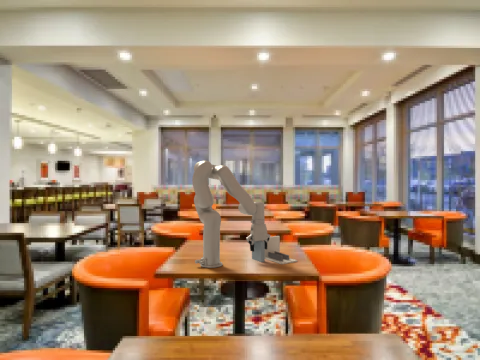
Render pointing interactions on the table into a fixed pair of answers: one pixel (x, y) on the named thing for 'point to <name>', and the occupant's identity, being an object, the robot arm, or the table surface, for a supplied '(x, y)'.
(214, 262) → the robot arm
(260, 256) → the door panel
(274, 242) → the cabinet base
